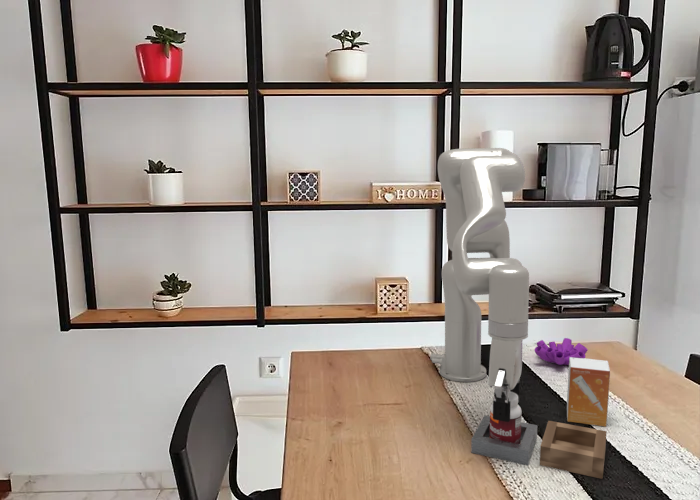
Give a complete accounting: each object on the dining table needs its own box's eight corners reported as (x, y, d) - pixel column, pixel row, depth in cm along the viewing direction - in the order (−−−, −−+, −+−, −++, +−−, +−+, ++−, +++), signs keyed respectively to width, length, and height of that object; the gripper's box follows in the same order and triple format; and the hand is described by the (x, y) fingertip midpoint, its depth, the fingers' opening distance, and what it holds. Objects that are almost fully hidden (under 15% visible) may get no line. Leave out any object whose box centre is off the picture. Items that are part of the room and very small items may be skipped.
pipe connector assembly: (587, 375, 156) (600, 356, 149) (536, 379, 154) (547, 360, 147) (571, 341, 163) (583, 322, 156) (522, 344, 161) (532, 325, 154)
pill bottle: (483, 447, 114) (484, 396, 112) (497, 434, 118) (498, 386, 116) (512, 457, 110) (514, 405, 108) (525, 444, 114) (527, 393, 112)
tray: (539, 465, 107) (540, 445, 106) (547, 438, 116) (548, 420, 115) (602, 478, 102) (603, 458, 101) (605, 449, 111) (606, 431, 111)
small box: (567, 422, 123) (569, 366, 120) (566, 409, 129) (568, 356, 126) (607, 427, 120) (610, 370, 118) (604, 414, 126) (607, 359, 123)
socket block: (471, 452, 111) (471, 438, 111) (484, 428, 121) (484, 415, 121) (528, 465, 107) (528, 450, 106) (536, 438, 116) (537, 425, 116)
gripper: (498, 315, 119) (497, 391, 121) (478, 338, 103) (477, 424, 106) (534, 318, 115) (532, 396, 118) (519, 343, 100) (517, 432, 103)
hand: (506, 410), depth 112 cm, fingers open, 9 cm apart
